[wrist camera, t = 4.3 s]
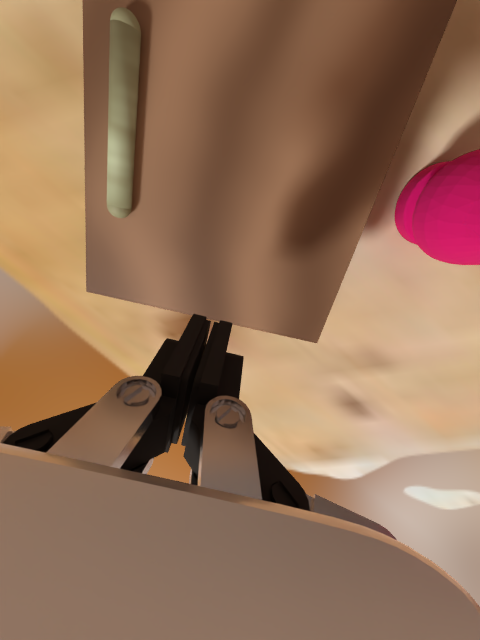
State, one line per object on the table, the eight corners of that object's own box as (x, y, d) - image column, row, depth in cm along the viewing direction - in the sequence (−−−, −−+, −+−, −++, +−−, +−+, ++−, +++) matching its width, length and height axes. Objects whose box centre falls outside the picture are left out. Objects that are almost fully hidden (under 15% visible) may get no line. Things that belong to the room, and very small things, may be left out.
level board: (453, -29, 11) (503, -85, 9) (312, 332, 19) (320, 351, 17) (102, -145, 10) (61, -239, 8) (98, 284, 18) (77, 297, 16)
